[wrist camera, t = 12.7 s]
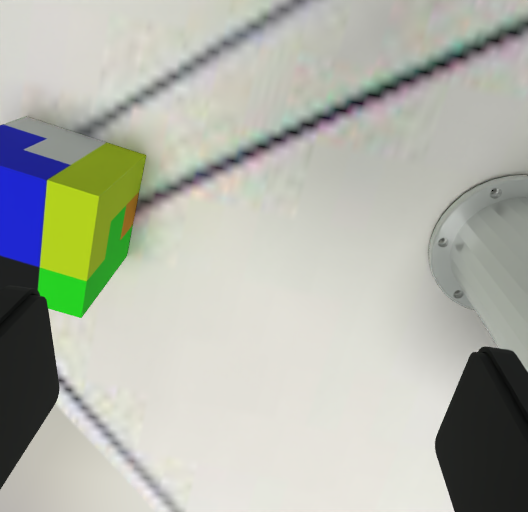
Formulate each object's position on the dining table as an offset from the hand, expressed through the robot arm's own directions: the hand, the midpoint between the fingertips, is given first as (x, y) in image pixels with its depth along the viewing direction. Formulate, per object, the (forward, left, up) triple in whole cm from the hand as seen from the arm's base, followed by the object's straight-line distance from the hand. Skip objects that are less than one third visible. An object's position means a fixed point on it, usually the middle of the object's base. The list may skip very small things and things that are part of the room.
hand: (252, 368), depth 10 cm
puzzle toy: (+17, +8, -29) cm, 34 cm away
